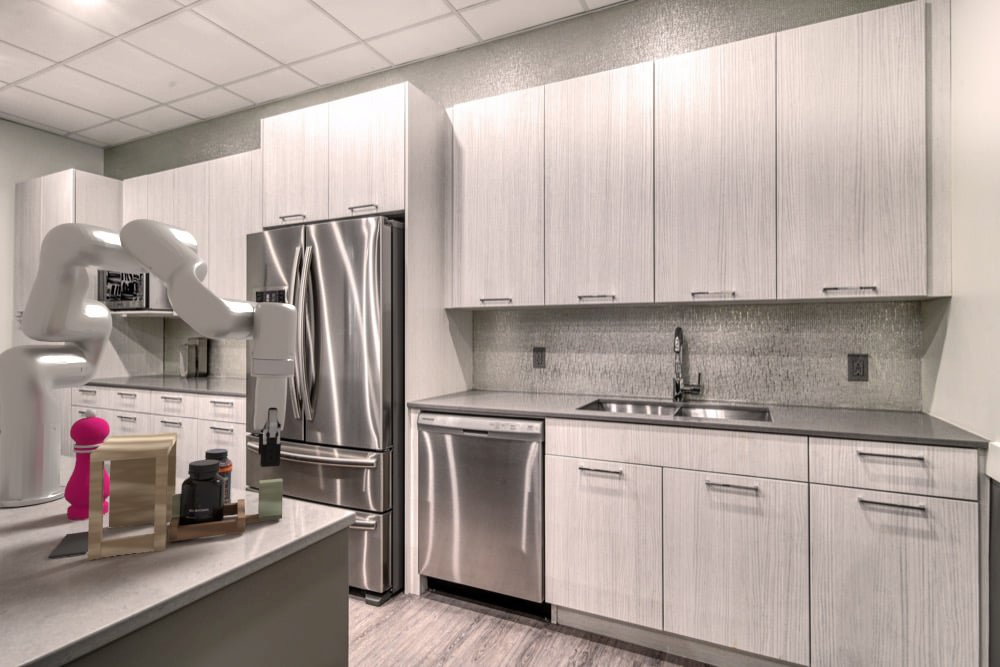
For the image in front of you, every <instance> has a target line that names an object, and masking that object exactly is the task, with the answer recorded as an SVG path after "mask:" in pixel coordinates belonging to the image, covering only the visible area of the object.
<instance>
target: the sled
mask: <svg viewBox="0 0 1000 667" xmlns="http://www.w3.org/2000/svg"><path fill="white" fill-rule="evenodd" d="M283 484H284V481H283V478H274V479H271V478H270V479H263V480H262V479H261V480H258V509H257V510H258V512H257V513H253V514H246V505H245V504H246V502H245V501H246V500H245V498H241V499H237V501H236V502H231V503H227V504H224V517H228V516H229V517H230V516H235V515H236V516H237V518H235V519H228V520H223V521H217V522H209V523H201V524H192V525H184V526H180V508H181V492H180V493H176V494H173V497H172V519H171V521H169V524H168V541H167V542H168V543H170V542H178V541H186V540H192V539H200V538H206V537H217V536H222V535H223V536H224V535H231V534H240V533H245V532H246V524H250V523H255V522H265V521H266V522H267V521H275V520H282V519H283V494H284V491H283V488H284V485H283Z"/></svg>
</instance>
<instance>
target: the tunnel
mask: <svg viewBox="0 0 1000 667" xmlns="http://www.w3.org/2000/svg"><path fill="white" fill-rule="evenodd" d="M104 441H105V442H104V443H103V444H102V445H101V446H99V447H98V448H97V449H96V450H95V451H93V452H92V453H91V454H90V489H89V519H88V529H87V530H88V531H87V532H88V551H87V561H93V559H96V560H100V559H102V558H101V557H106V558H109V557H108V556H114V557H117V556H116V555H121V556H126V555H125V554H129V555H133V554H132V553H136V554H143V552H144V553H150V551H151V552H154V553H155V552H161V551H162V552H163V551H165V550H166V548H167V524H168V522H169V523H170V521H171V519H172V497H173V494H177V462H178V460H177V459H178V458H177V457H178V456H177V455H178V432H177V431H175V432H155V433H140V434H139V433H138V434H137V433H136V434H117V435H112V436H110V437H109V438H108V439H105V440H104ZM107 461H108V462H110V463H109V477H110V495H109V496H108V497H109V499H108V500H109V501H108V502H109V511H108V528H109V527H116V528H121V527H120V526H125V527H131V526H130V525H134V526H140V525H141V524H142V525H149V524H148V523H151V524H154V530H153V532H154V533H148V534H138V535H137V534H136V535H132V536H123V537H114V538H112V537H111V538H107V539H106V538H105V539H104V538H103V537H104V536H103V533H104V532H103V531H104V528H103V526H104V515H103V495H104V467H105V462H107ZM142 525H141V526H142ZM141 552H142V553H141ZM99 558H100V559H99Z"/></svg>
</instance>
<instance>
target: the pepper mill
mask: <svg viewBox="0 0 1000 667" xmlns="http://www.w3.org/2000/svg"><path fill="white" fill-rule="evenodd" d="M84 416H85V417H84V418H80V419H78V420H76V421H75V422H73V424H72V425H71V428H70V432H69V435H70V438H71V439H72V441H73V442H74V444H73V445H72V447H73V450H72V452H73V453H75V465H74V469H73V471H72V473H71V476H70V477H69V479H68V481H67V482H66V485H65V486H66V488H65V493H64V497H63V498H64V499H65V501H66V502H68V504H70V505H69V506H68V507H67V508H66V510H67V511H66V517H67V519H68V520H74V519H81V520H89V519H88V518H89V489H90V454H91V453H92V452H93V451H95V450H96V449H97V448H98V447H99V446H101V445H102V444H103V443H104V442H105V441H106V439H107V438H108V436H109V435H110V433H111V432H110V431H111V430H110V429H111V428H110V424H109V422H108V421H107V420H105V419H104V418H101V417H98V416H97V411H96V410H95V409H93V408H89V409H87V410H86V411H85V412H84ZM109 495H110V474H108V472H107V469H106V466H104V495H103V514H104V515H106V514H107V513H109V501H108V500H107V499H108V497H109ZM105 513H106V514H105Z"/></svg>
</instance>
